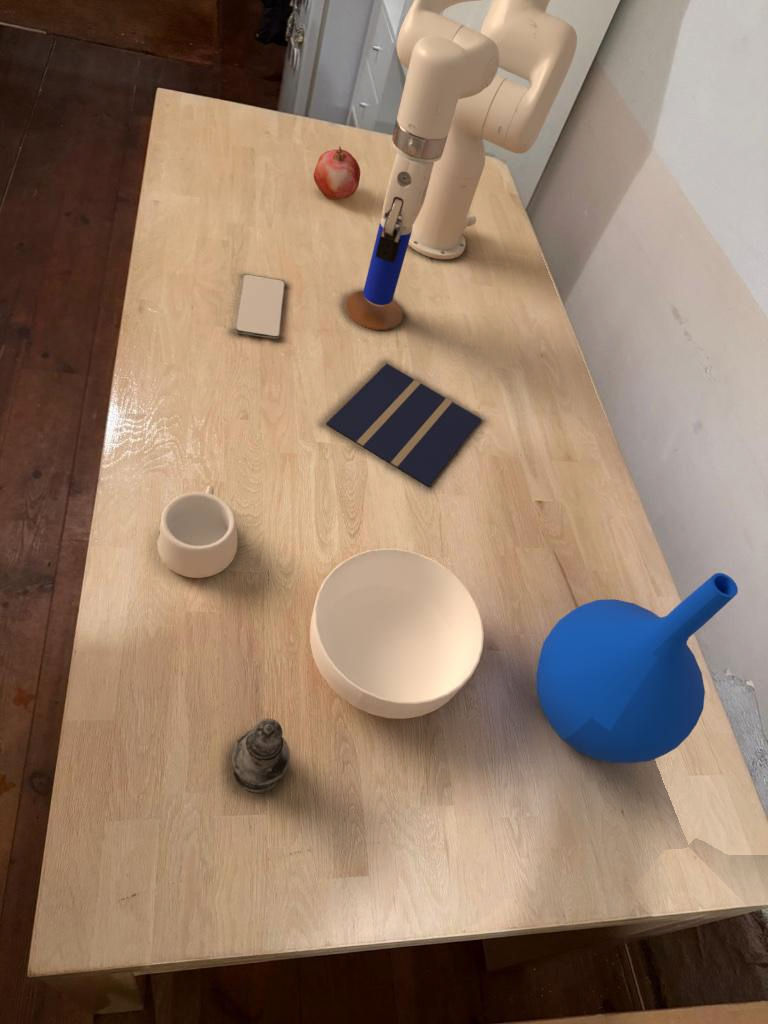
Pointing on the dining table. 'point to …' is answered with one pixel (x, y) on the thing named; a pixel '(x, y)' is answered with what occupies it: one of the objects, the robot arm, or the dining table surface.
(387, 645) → the bowl
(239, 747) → the dark stone chess piece
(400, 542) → the dining table surface
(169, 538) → the mug
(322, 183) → the fruit
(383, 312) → the coaster
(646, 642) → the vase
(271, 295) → the smartphone
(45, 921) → the dining table surface
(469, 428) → the plate
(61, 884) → the dining table surface
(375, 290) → the beverage can
